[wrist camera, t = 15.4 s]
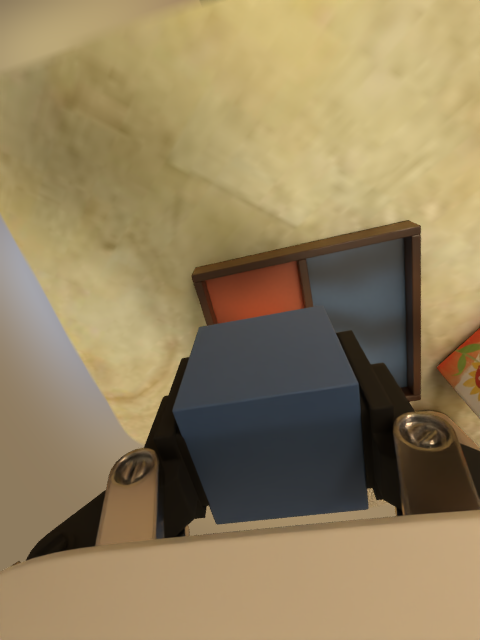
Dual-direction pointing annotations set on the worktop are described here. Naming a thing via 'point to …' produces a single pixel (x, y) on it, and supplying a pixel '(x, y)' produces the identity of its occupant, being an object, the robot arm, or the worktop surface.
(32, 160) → the worktop surface
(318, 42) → the worktop surface
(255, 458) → the slate-blue block
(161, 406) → the robot arm
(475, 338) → the cracker box
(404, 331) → the sorting tray
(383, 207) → the worktop surface
